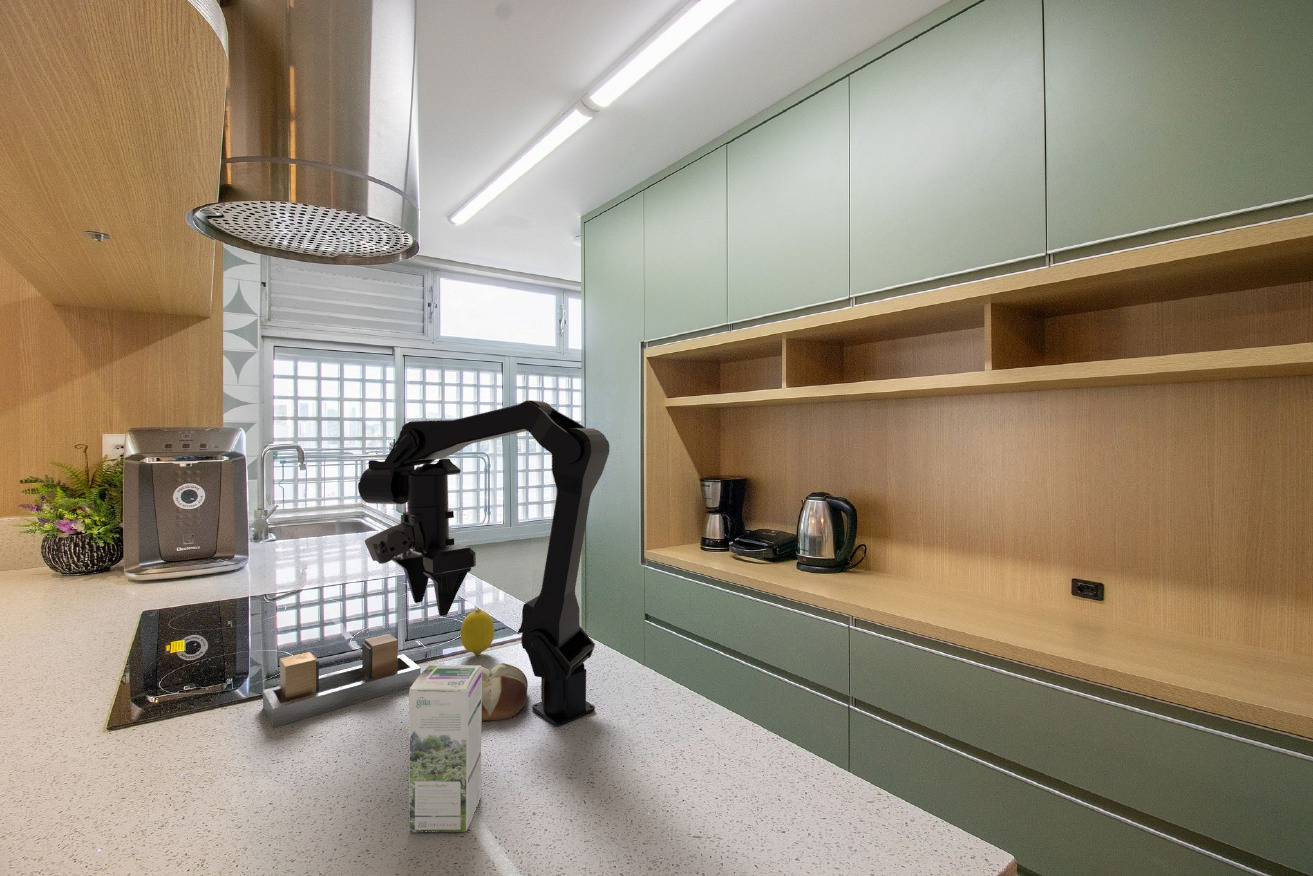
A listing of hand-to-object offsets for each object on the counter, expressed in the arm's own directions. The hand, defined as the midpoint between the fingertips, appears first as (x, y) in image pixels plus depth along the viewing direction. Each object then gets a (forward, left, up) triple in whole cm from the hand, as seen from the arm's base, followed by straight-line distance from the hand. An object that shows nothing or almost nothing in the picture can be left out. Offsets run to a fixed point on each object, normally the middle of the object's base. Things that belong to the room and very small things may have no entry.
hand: (430, 608), depth 86 cm
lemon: (+7, -11, -12) cm, 18 cm away
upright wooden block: (+6, +5, -11) cm, 13 cm away
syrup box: (-29, +10, -12) cm, 33 cm away
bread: (-10, -4, -13) cm, 17 cm away
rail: (+6, +10, -12) cm, 17 cm away
